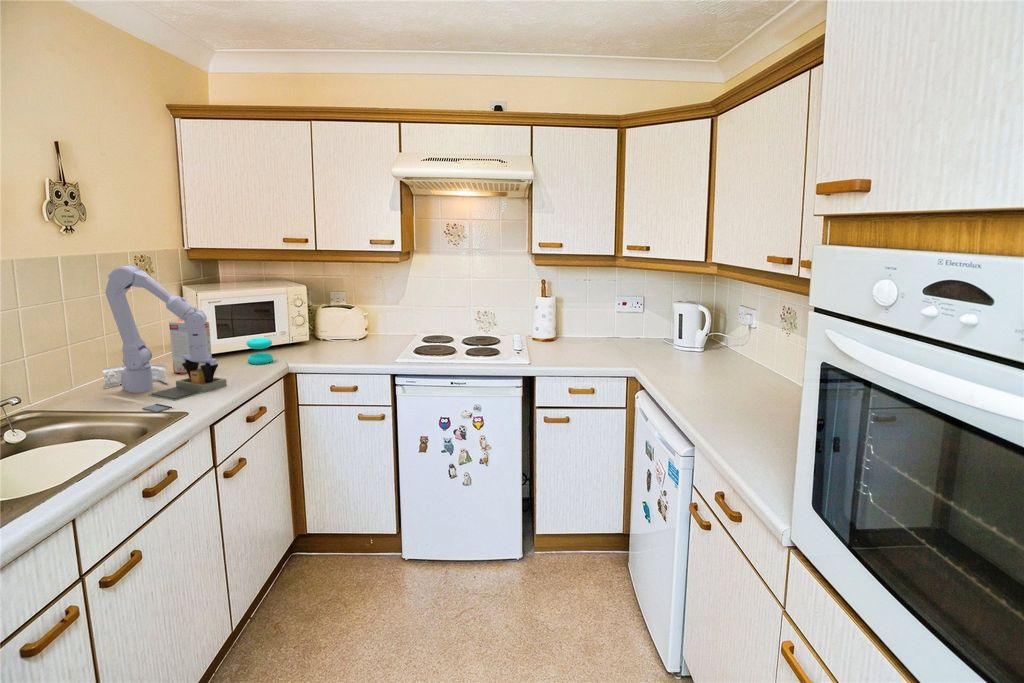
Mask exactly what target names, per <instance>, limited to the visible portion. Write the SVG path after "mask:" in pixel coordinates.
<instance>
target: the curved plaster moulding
mask: <svg viewBox="0 0 1024 683" xmlns="http://www.w3.org/2000/svg"><path fill="white" fill-rule="evenodd" d="M150 365H151V372H152V382H153V383H157V382H162V383H164V384H167V385H169V383H168V382H166V374H165V371H167V369H168V367H167V365H164V364H160V363H159V364H157V363H150ZM124 368H126V366H125V365H119V366H109V367H104V368H102V369H101V371H102V372H103V374H104V375H103V376H104V385H103V389H104V388H106V387H109V388H111V387H110V386H114V387H116V386H115V385H119V384H122V381H121V372H122V370H123V369H124ZM119 386H120V385H119ZM106 389H107V388H106Z"/></svg>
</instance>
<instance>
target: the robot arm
mask: <svg viewBox="0 0 1024 683" xmlns="http://www.w3.org/2000/svg"><path fill="white" fill-rule="evenodd" d="M107 276H108V277H107V278H108V281H107V284H106V288H105V292H104V293H105V296H106V299H107V302H108V305H109V308H110V310H111V312H112V316H113V319H114V321H115V324H116V326H117V329H118V332H119V335H120V338H121V341H122V348H121V352H122V355H123V357H122V363H123V366H126V368H124V369H123V370H122V372H121V381H122V385H121V387H122V388H121V389H122V391H126V392H129V393H133V394H134V393H140V394H141V393H145V392H151V391H152V390H154V382H152V372H151V365H150V364H151V363H150V361H151V360H152V359H153V358H152V356H153V353H152V351H151V349H150V348H149V347H147V344H146V342H145V341H144V340H143V338H141V336H140V332H139V330H138V328H137V324H136V321H135V319H134V316H133V313H132V311H131V306H130V304H129V302H128V299H127V295H126V294H127V293H128V291H129V290H130V289H131V288H132V287H135V288H142V289H145V290H147V291H148V292H149V293H151V294H152V295H154V296H155V297H157V298H158V299H159V300H160V301H162V302H164V303H165V307H166V309H167V310H168V311H170V312H171V313H172V314H174V315H175V316H176V317H178V318H179V320H184V323H185V325H186V326H187V327H188V339H189V350H190V355H184V356H183V361H186V362H185V363H182V366H183V367H184V368H185V369H186V371H187V373H188V374H187V375H188V378H190V380H191V375H190V371H194V370H196V369H198V365H199V363H204V364H206V365H202V366H200V367H201V369H202V371H203V373H204V377H205V383H210V382H213V377H215V376H214V375H215V372H216V370H217V369H218V366H219V364H218V362H217V358H213V357H212V358H211V356H210V355H208V346H207V334H206V327H205V325H204V324H205V323H206V322H208V321H207V319H208V318H207V315H206V313H205V312H204V311H203V310H199V309H198V307H194V306H192V305H191V304H190V303H189V302H188V301H186V300H187V299H186V297H184V296H182V297H181V296H179V295H172V294H171V293H170V292H169V291H168V290H166V289H165V288H164V287H163V286H162V285H161V284H160V283H158V282H157V281H156V280H155V279H154V278H152V277H151V276H150V275H149V274H148V273H147V272H145V271H144V270H141V269H140V268H139V267H138V266H137V265H134V264H127V265H124V266H117V267H115V268H114V269H113V270H111V272H109V274H108V275H107ZM203 325H204V326H203Z"/></svg>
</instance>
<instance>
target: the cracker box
mask: <svg viewBox="0 0 1024 683" xmlns="http://www.w3.org/2000/svg"><path fill="white" fill-rule="evenodd" d="M168 325H169V335H170V348H171V358H172V367H173V368H172V369H173V370H172V371H173V374H176V373H180V374H179V375H188V373H187V371H186V369H185V368H184V367H183V366H182V363H185V362H186V361H183V356H184V355H190V350H189V339H188V327H187V326H186V325H185V323H184V320H181V319H177V320H172V321H169V322H168ZM204 325H205V327H206V334H207V346H208V355H210V356H211V358H213V356H212V343H211V331H210V330H211V329H210V322H209V321H206V323H205V324H204ZM204 325H203V326H204ZM202 365H206V364H204V363H199V365H198V369H200V368H201V367H200V366H202Z"/></svg>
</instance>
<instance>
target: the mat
mask: <svg viewBox="0 0 1024 683" xmlns="http://www.w3.org/2000/svg"><path fill="white" fill-rule="evenodd" d="M172 407H173V406H169V405H165V404H160V403H155V404H151V405H148V406H145V407H142V408H141V409H142V410H143V409H144V410H143V411H147V410H149V411H148V412H152V411H156V412H155V413H157V412H158V413H160V412H159V411H162V412H164V411H163V410H165V411H167V410H166V409H168V410H170V409H169V408H172ZM172 409H173V408H172Z"/></svg>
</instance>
